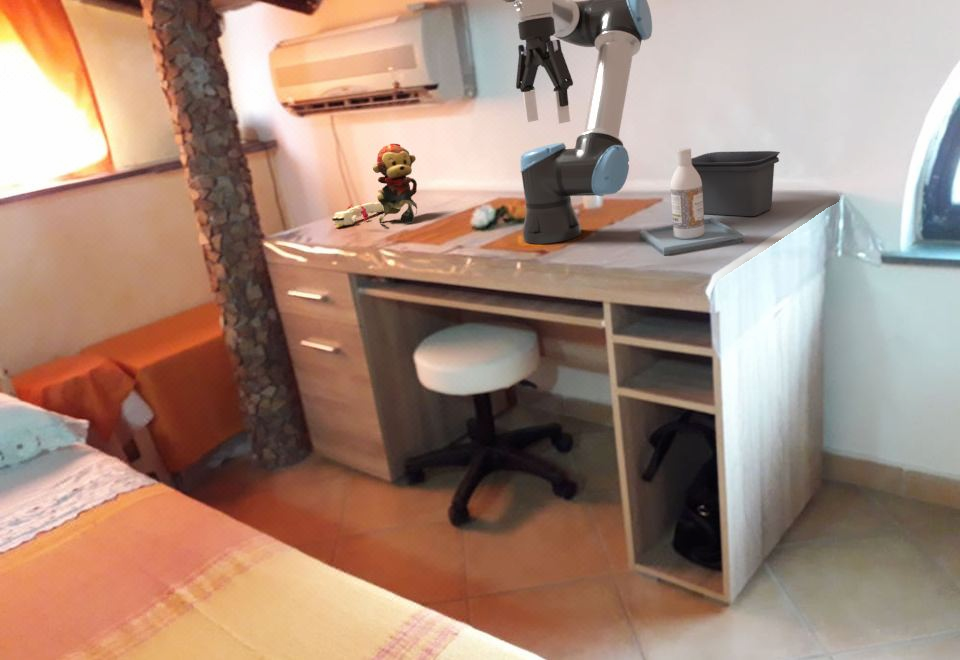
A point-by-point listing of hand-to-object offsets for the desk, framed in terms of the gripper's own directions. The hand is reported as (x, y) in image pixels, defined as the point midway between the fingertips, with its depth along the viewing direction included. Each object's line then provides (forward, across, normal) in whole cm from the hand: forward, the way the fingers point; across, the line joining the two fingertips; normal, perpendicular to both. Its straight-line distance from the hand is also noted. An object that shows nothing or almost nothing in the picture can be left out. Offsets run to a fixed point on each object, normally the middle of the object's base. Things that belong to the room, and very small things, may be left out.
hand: (547, 122), depth 170 cm
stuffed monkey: (+32, -86, -9) cm, 92 cm away
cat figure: (+32, -104, -17) cm, 110 cm away
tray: (+32, +10, +28) cm, 44 cm away
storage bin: (+32, -1, +52) cm, 61 cm away
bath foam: (+31, +10, +28) cm, 43 cm away
